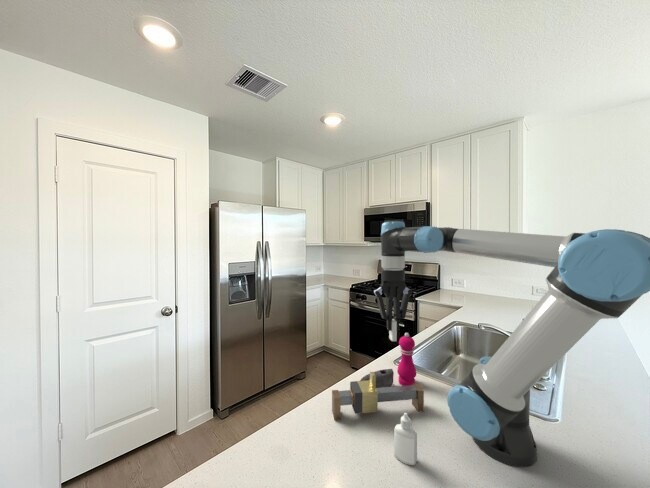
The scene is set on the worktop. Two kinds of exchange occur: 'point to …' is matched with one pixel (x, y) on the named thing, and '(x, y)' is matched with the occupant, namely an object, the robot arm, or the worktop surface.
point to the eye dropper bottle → (405, 442)
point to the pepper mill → (406, 361)
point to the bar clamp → (380, 397)
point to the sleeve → (369, 394)
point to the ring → (356, 397)
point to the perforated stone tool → (382, 378)
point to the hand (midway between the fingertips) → (392, 339)
